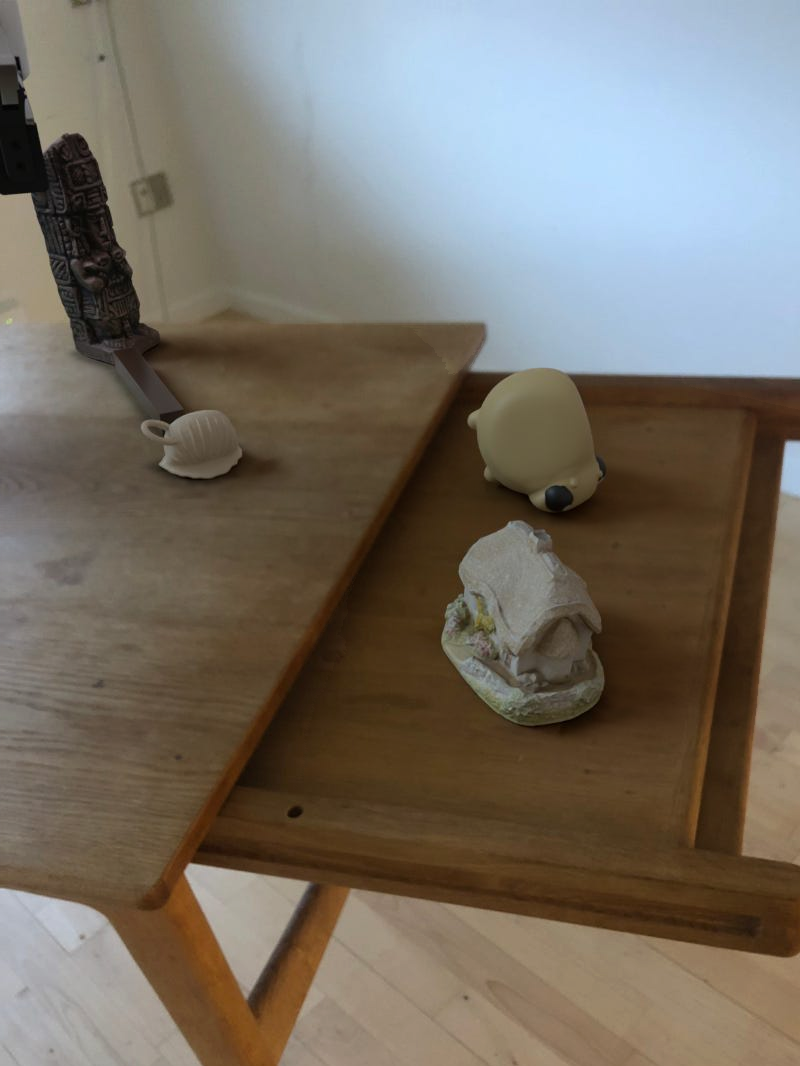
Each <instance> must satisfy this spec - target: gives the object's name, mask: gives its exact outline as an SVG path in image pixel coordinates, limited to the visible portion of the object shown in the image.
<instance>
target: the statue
mask: <svg viewBox="0 0 800 1066" xmlns="http://www.w3.org/2000/svg"><path fill="white" fill-rule="evenodd" d="M42 152H43V157H44V162H45V167H46V171H47V176H48V181H49V189H48V190H47V191H45V192H36V193H30V197H31V199H32V204H33V210H34V211H35V215H36V219H37V222H38V225H39V227H40V231H41V234H42V235H43V239H44V244H45V249H46V253H47V254H48V258H49V266H50V270H51V273H52V276H53V279H54V282H55V284H56V288H57V293H58V296H59V300H60V302H61V304H62V306H63V308H64V311H65V313H66V316H67V317H68V318H69V327H70V329H71V333H72V335H71V336H72V340H73V342H74V347H75V350H76V351H77V352H79V353H80V354H82V355H84V356H86V357H88V358H90V359H94V360H98V361H102V362H105V363H108V364H111V365H115V362H114V357H113V352H112V351H115V350H121V349H127V348H133V347H135V348H136V349H137V350H138V352H139V353H140V354H141V355H142V356H143V354H144V353H145V352H147V351H148V350H150V349H151V348H153V347H155V346H157V345H158V344H159V343H160V341H161V335H160V332H159V330H157V329H155V328H153V327H151V326H149V325H147V324H146V323H144V322H140V320H141V319H140V318H141V312H140V309H141V308H140V307H141V301H140V299H139V296H138V294H137V291H136V289H135V286H134V284H133V273H134V272H133V268H132V267H131V265H130V263H129V262H128V260H127V258H126V256H127V250H125V248H123V247H121V246H120V244H119V242H118V241H117V236H116V232H115V229H114V228H113V227H114V221H113V217H112V212H111V208H110V206H109V205H108V204H107V202H108V201H109V195H108V191H107V188H106V187H107V186H106V185H105V184H104V181H103V177H102V173H101V169H100V165H99V162H98V160H97V158H96V157H95V156H94V154H93V152H92V150H91V149H90V146H89V144H88V142H87V140H86V138H85V137H84V136H83V135H81V134H80V133H79V132H74V133H68V132H65V133H63V134H62V135H61V136H60V137H58V138H57V139H56V140H55V141H53V142H52V143H50V145H49V146H48V147H46V148H45V150H43V151H42Z"/></svg>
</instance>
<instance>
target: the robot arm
mask: <svg viewBox="0 0 800 1066" xmlns="http://www.w3.org/2000/svg"><path fill="white" fill-rule="evenodd" d="M26 44H27V43H26V37H25V32H24V26H23V22H22V17H21V12H20V7H19V3H18V0H0V195H1V196H12V195H13V196H14V195H21V194H22V195H24V194H31V193H36V192H45V191H47V190H48V189H49V181H48V176H47V171H46V167H45V162H44V157H43V152H44V151H43V148H42V144H41V139H40V134H39V129H38V125H37V122H36V120H35V117H34V113H33V109H32V106H31V103H30V100H29V97H28V94H27V90H26V87H25V85H24V82H25V80H27V78H28V77H29V76H30V73H31V72H30V71H31V70H30V62H29V56H28V55H29V54H28V49H27V45H26Z"/></svg>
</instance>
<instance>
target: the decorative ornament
mask: <svg viewBox="0 0 800 1066" xmlns="http://www.w3.org/2000/svg"><path fill="white" fill-rule="evenodd" d="M148 427H149V428H150V427H152V428H153V427H154V428H157V427H158V428H161V429H163V430H165V431H166V433H165V436H162V437H161V436H158V435H156V434H155V433H153V432H151V430H150V429H149V428H148ZM140 430H141V432H142V434H143V435H144V436H145V437H147V438H148V439H149V440H151V441H153V443H157V444H159V445H163V451H164V456H163V458H162V460H160V462H159V463H158V466H159V467H161V468H163V469H164V470H165V471H168V472H169V473H171V475H177V476H179V477H182V478H183V477H185V478H186V477H187V478H191V479H205V480H206V479H207V480H210V479H213V478H216V477H219V476H222V475H226V474H227V473H229V471H230V470H231V469H232V467H234V466H236V465H238V461H239V460H240V459H242V457H243V449H242V448H241V447H240V446H239V440H238V438H237V437H238V436H237V433H236V429H235V427H234V425H233V424H232V422H231V420H230V419H229V417H228V416H227V415H226V414H224V413H223V412H222V411H220V410H216V409H203V410H196V411H193V412H189V413H186V414H185V415H184V416H181V417H180V418H178V419H176V420H175V421H174V422H173V423H172V424H170V425H169V424H168V423H165V422H163V421H159V420H151V419H147V420H144V421H143V422H142V423H141V425H140Z"/></svg>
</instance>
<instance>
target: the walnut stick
mask: <svg viewBox="0 0 800 1066" xmlns="http://www.w3.org/2000/svg"><path fill="white" fill-rule="evenodd" d="M112 352H113V357H114V362H115V364H114V367H115V372H116V374H117V375H118V377H120V379H121V381H122V382H123V383H124V384H125V386H126V388H127V389H128V390H129V392H130V393H131V394H132V396H133V397H134V399H135V400H136V401H137V402H138V405H140V407H141V408H142V410H143V411H144V412H145V414H146V415H147V416H148V418H149V420H159V421H163V422H165V423H168V424H169V425H170V424H172V423H173V422H174V421H175V420H176V419H178V418H180V417H181V416H184V415H186V414H185V409H184V407H183V406H182V405H181V404H180V402H179V401H178V399H176V397H175V396H174V394H173V393H172V392H171V391H170V390H169V388H168V387H167V386H166V385H165V384H164V382H163V381H162V380H161V378H160V377H159V376H158V374H157V373H156V372H155V370H154V369H153V368H152V366H151V365H150V364H149V363H148V361H147V360H146V359H145V357H144V356H143V354H142V355H141V354H140V353H139V352H138V350H137V349H136V348H135V347H133V348H127V349H121V350H115V351H112ZM156 429H157V430H158V431H159V433H160V434H161V435H162V437H164V436H165V433H166V431H165V430H163V429H161V428H158V427H156Z"/></svg>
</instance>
